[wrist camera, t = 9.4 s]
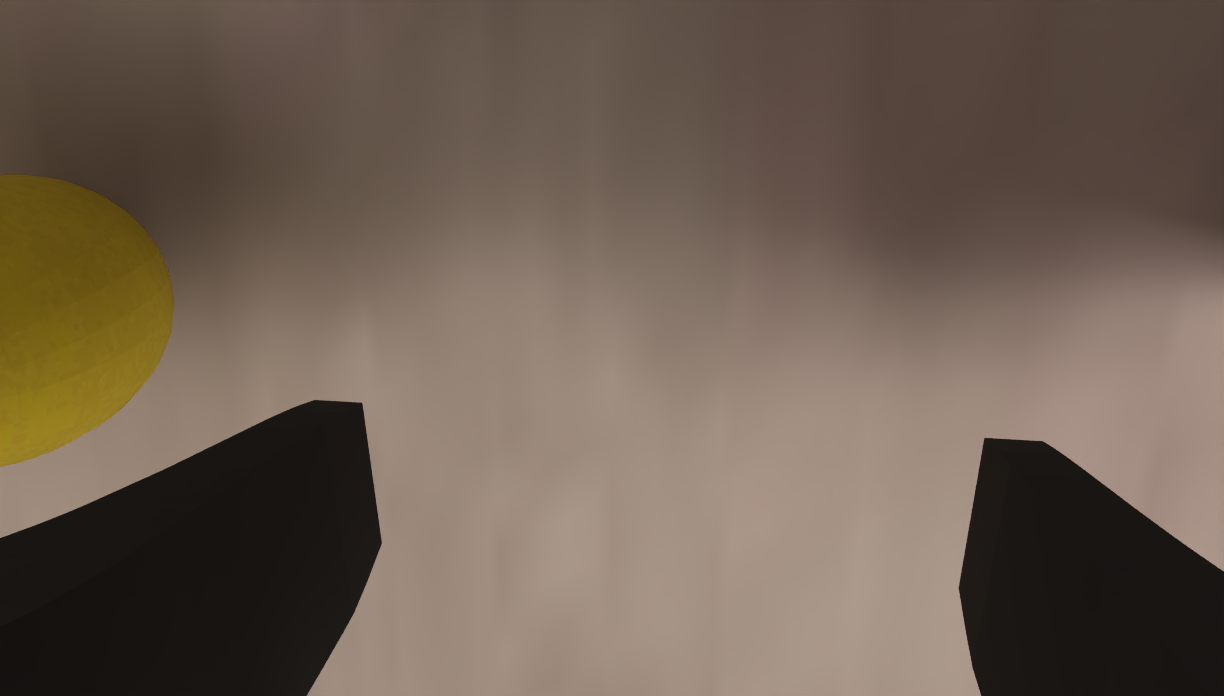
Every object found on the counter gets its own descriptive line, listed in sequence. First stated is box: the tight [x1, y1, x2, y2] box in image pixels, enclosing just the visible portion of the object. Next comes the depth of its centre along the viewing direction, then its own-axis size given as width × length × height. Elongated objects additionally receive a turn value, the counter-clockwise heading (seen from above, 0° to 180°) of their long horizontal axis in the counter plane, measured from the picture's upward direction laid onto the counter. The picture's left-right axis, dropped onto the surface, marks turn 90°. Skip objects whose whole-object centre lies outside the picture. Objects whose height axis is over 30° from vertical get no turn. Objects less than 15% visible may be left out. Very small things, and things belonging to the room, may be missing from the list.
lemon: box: [0, 174, 174, 466], centre depth 19 cm, size 6×6×8 cm
